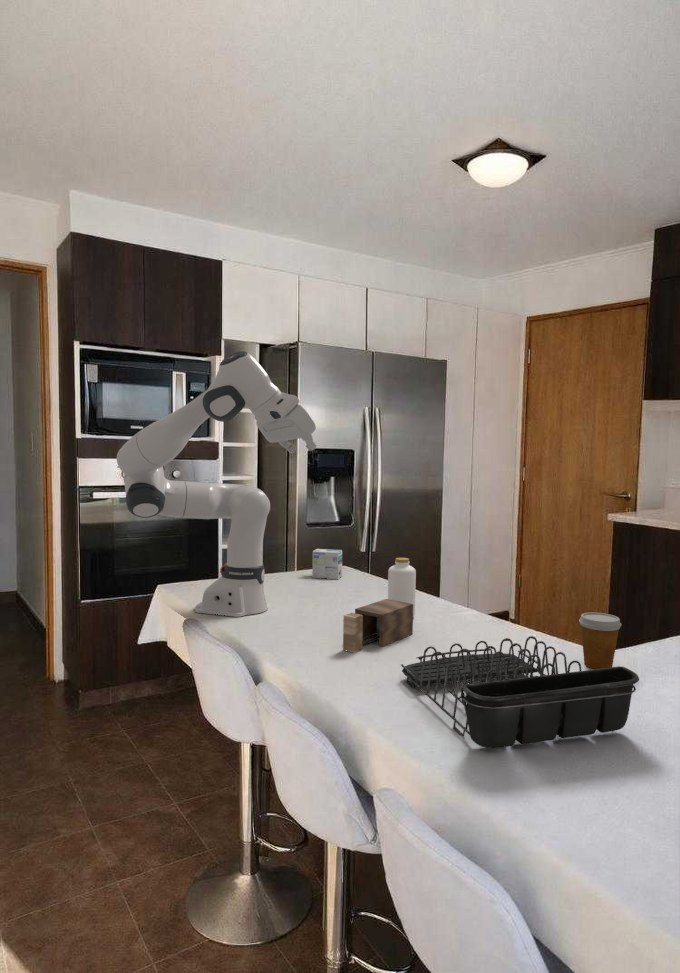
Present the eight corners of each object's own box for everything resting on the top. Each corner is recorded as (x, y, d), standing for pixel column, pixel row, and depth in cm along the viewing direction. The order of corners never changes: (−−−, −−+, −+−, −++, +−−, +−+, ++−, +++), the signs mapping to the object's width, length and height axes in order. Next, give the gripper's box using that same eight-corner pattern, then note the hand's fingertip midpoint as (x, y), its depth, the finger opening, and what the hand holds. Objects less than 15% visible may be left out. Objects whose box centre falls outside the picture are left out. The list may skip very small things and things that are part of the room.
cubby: (382, 646, 174) (383, 614, 173) (354, 640, 179) (355, 608, 179) (412, 634, 186) (413, 603, 185) (385, 628, 191) (386, 598, 191)
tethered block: (356, 653, 168) (356, 618, 168) (340, 649, 171) (341, 614, 171) (401, 634, 185) (402, 602, 184) (386, 631, 188) (387, 599, 188)
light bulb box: (342, 576, 263) (343, 549, 262) (338, 580, 256) (338, 552, 256) (316, 575, 265) (316, 548, 265) (311, 578, 259) (312, 550, 258)
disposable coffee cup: (618, 662, 164) (620, 614, 164) (620, 674, 155) (623, 624, 155) (577, 657, 168) (578, 610, 167) (577, 669, 159) (579, 619, 158)
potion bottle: (414, 614, 207) (415, 556, 206) (415, 621, 199) (416, 561, 198) (387, 613, 208) (388, 555, 207) (387, 620, 200) (388, 560, 199)
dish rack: (476, 766, 111) (478, 695, 110) (386, 675, 154) (387, 624, 153) (646, 743, 121) (649, 678, 120) (517, 663, 163) (519, 615, 162)
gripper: (244, 420, 174) (275, 460, 179) (283, 411, 157) (317, 455, 162) (259, 405, 177) (290, 445, 182) (300, 394, 160) (332, 439, 165)
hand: (303, 450), depth 172 cm, fingers open, 8 cm apart
